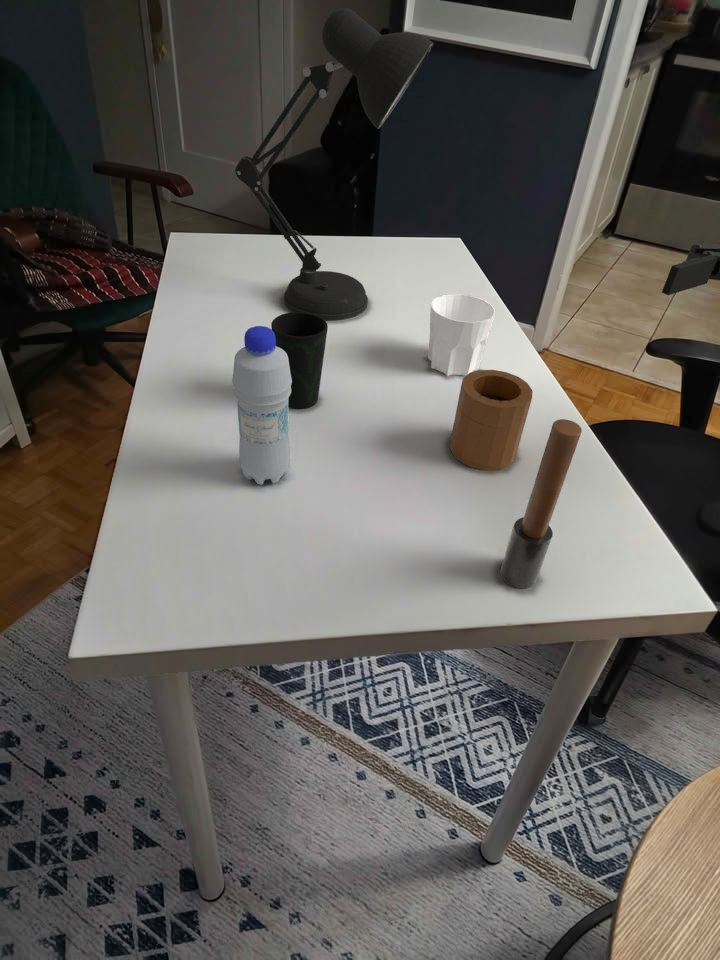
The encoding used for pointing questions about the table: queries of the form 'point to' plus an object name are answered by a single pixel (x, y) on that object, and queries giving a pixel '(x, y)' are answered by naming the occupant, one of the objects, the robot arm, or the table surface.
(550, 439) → the wooden handled pestle
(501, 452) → the wooden hollow tube
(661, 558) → the table surface
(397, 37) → the desk lamp
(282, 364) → the bottle
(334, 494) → the table surface
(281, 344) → the cup
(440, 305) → the cup
